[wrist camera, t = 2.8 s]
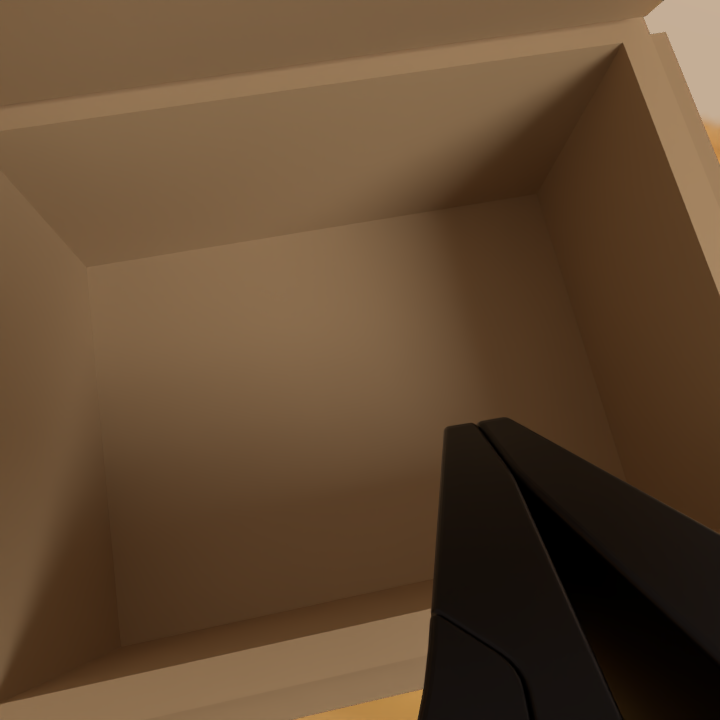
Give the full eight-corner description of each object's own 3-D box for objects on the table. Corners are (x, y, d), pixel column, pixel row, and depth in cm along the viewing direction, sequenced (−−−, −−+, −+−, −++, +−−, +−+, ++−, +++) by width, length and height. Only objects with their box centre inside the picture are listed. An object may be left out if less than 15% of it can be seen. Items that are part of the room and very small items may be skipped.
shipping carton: (688, 568, 21) (897, 580, 13) (84, 704, 19) (-87, 810, 11) (561, 178, 25) (663, 11, 17) (50, 260, 23) (-93, 115, 15)
